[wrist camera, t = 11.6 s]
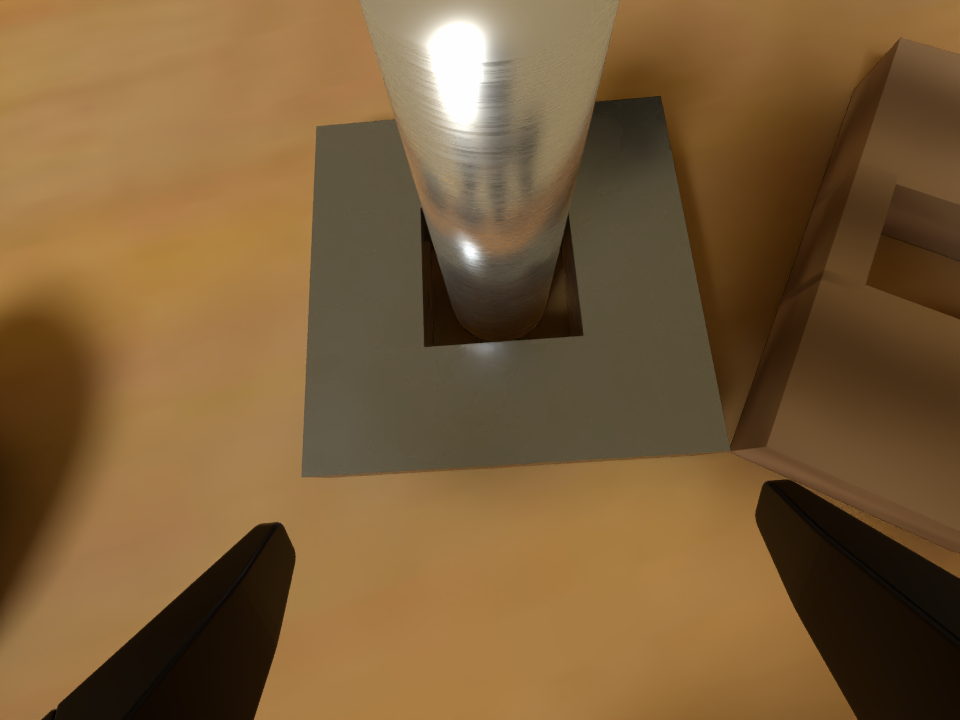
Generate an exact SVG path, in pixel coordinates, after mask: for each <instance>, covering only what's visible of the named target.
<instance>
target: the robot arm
mask: <svg viewBox="0 0 960 720" xmlns="http://www.w3.org/2000/svg"><path fill="white" fill-rule="evenodd" d="M755 518H756V523H757V526H758V528H759V530H760V533H761V535H762V537H763V539H764V542H765V544H766V546H767V548H768V551H769V553H770V555H771V557H772V560H773V562H774V564H775V566H776V568H777V571H778V573H779V575H780V577H781V580H782V582H783V584H784V586H785V589H786V591H787V593H788V595H789V597H790V599H791V602H792V604H793V606H794V608H795V610H796V612H797V613H798V615H799V617H800V619H801V621H802V623H803V624H804V626H805V628H806V630H807V631H808V633H809V635H810V637H811V639H812V640H813V642H814V644H815V646H816V647H817V649H818V651H819V653H820V654H821V656H822V658H823V660H824V661H825V663H826V665H827V667H828V668H829V670H830V672H831V674H832V675H833V677H834V679H835V681H836V682H837V684H838V686H839V688H840V689H841V691H842V693H843V695H844V696H845V698H846V700H847V702H848V703H849V705H850V707H851V709H852V710H853V712H854V714H855V716H856V717H857V719H858V720H960V579H959V578H958V577H956V576H954V575H953V574H951V573H949V572H947V571H946V570H944V569H942V568H941V567H939V566H937V565H935V564H934V563H932V562H930V561H929V560H927V559H925V558H924V557H922V556H920V555H918V554H917V553H915V552H913V551H912V550H910V549H908V548H906V547H905V546H903V545H901V544H900V543H898V542H896V541H894V540H893V539H891V538H889V537H888V536H886V535H884V534H882V533H881V532H879V531H877V530H876V529H874V528H872V527H871V526H869V525H867V524H865V523H864V522H862V521H860V520H859V519H857V518H855V517H853V516H852V515H850V514H848V513H847V512H845V511H843V510H841V509H840V508H838V507H836V506H835V505H833V504H831V503H829V502H828V501H826V500H824V499H823V498H821V497H819V496H818V495H816V494H814V493H812V492H811V491H809V490H807V489H806V488H804V487H802V486H800V485H799V484H797V483H795V482H793V481H791V480H773V481H767V482H765V483H764V484H763V486H762V489H761V493H760V496H759V500H758V504H757V508H756V513H755ZM295 558H296V556H295V550H294V547H293V545H292V543H291V541H290V539H289V537H288V534H287V532H286V530H285V528H284V526H283V525H282V524H281V523H278V522H274V523H262V524H259V525H257V526H256V527H254V528H253V529H252V530H251V531H250V532H249V533H248V534H246V535H245V536H244V537H243V538H242V539H241V540H240V541H239V542H238V543H237V544H235V545H234V546H233V547H232V548H231V549H230V550H229V551H228V552H227V553H225V554H224V555H223V556H222V557H221V558H220V559H219V560H218V561H217V562H215V563H214V564H213V565H212V566H211V567H210V568H209V569H208V570H207V571H206V572H204V573H203V574H202V575H201V576H200V577H199V578H198V579H197V580H196V581H194V582H193V583H192V584H191V585H190V586H189V587H188V588H187V589H186V590H185V591H183V592H182V593H181V594H180V595H179V596H178V597H177V598H176V599H175V600H173V601H172V602H171V603H170V604H169V605H168V606H167V607H166V608H165V609H163V610H162V611H161V612H160V613H159V614H158V615H157V616H156V617H155V618H154V619H152V620H151V621H150V622H149V623H148V624H147V625H146V626H145V627H144V628H142V629H141V630H140V631H139V632H138V633H137V634H136V635H135V636H134V637H133V638H131V639H130V640H129V641H128V642H127V643H126V644H125V645H124V646H123V647H121V648H120V649H119V650H118V651H117V652H116V653H115V654H114V655H113V656H111V657H110V658H109V659H108V660H107V661H106V662H105V663H104V664H103V665H102V666H100V667H99V668H98V669H97V670H96V671H95V672H94V673H93V674H92V675H90V676H89V677H88V678H87V679H86V680H85V681H84V682H83V683H82V684H81V685H79V686H78V687H77V688H76V689H75V690H74V691H73V692H72V693H71V694H69V695H68V696H67V697H66V698H65V699H64V700H63V701H62V702H61V703H60V704H59V705H58V707H57V709H54V710H52V711H50V712H49V713H48V714H47V715H46V716H45V717H44V718H43V719H42V720H254V717H255V714H256V711H257V708H258V705H259V702H260V699H261V695H262V692H263V689H264V686H265V683H266V680H267V677H268V673H269V670H270V667H271V664H272V661H273V658H274V654H275V651H276V647H277V644H278V639H279V635H280V631H281V627H282V622H283V617H284V613H285V608H286V603H287V598H288V594H289V589H290V584H291V580H292V575H293V570H294V566H295Z"/></svg>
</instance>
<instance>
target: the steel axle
mask: <svg viewBox="0 0 960 720" xmlns="http://www.w3.org/2000/svg"><path fill="white" fill-rule="evenodd" d="M359 1H360V4H361V7H362V11H363V14H364V17H365V21H366V24H367V27H368V30H369V34H370V37H371V40H372V44H373V47H374V50H375V54H376V57H377V60H378V64H379V67H380V70H381V73H382V77H383V80H384V83H385V87H386V90H387V93H388V97H389V100H390V103H391V107H392V110H393V113H394V116H395V120H396V123H397V126H398V130H399V133H400V136H401V140H402V143H403V146H404V150H405V153H406V156H407V159H408V163H409V166H410V169H411V173H412V176H413V179H414V183H415V186H416V189H417V193H418V196H419V199H420V202H421V206H422V209H423V212H424V216H425V219H426V222H427V226H428V229H429V232H430V236H431V239H432V242H433V245H434V249H435V252H436V255H437V259H438V262H439V265H440V269H441V272H442V275H443V279H444V282H445V285H446V288H447V292H448V295H449V298H450V302H451V305H452V308H453V311H454V314H455V317H456V318H457V320H458V322H459V323H460V324H461V326H462V327H463V328H464V329H465V330H466V331H467V332H469V333H470V334H471V335H473V336H475V337H477V338H479V339H482V340H485V341H489V342H504V341H513V340H516V339H518V338H521V337H522V336H524V335H526V334H527V333H529V332H530V331H531V330H532V329H533V328H534V327H535V326H536V325H537V324H538V323H539V321H540V320H541V318H542V316H543V314H544V311H545V308H546V304H547V300H548V296H549V291H550V287H551V283H552V279H553V275H554V271H555V267H556V262H557V258H558V254H559V250H560V246H561V242H562V237H563V233H564V229H565V225H566V221H567V217H568V212H569V208H570V204H571V200H572V196H573V192H574V187H575V183H576V179H577V175H578V171H579V167H580V162H581V158H582V154H583V150H584V146H585V142H586V137H587V133H588V129H589V125H590V121H591V117H592V113H593V108H594V104H595V100H596V96H597V92H598V88H599V83H600V79H601V75H602V71H603V67H604V63H605V58H606V54H607V50H608V46H609V42H610V38H611V33H612V29H613V25H614V21H615V17H616V13H617V8H618V4H619V0H359Z"/></svg>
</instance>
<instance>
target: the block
mask: <svg viewBox="0 0 960 720" xmlns="http://www.w3.org/2000/svg"><path fill="white" fill-rule="evenodd" d="M431 241H432V239H431V236H430V232H429V229H428V226H427V222H426V219H425V216H424V212H423V209H422V206H421V202H420V199H419V196H418V193H417V189H416V186H415V183H414V179H413V176H412V173H411V169H410V166H409V163H408V159H407V156H406V153H405V150H404V146H403V143H402V140H401V136H400V133H399V130H398V126H397V123H396V120H383V121H372V122H361V123H349V124H338V125H327V126H317V130H316V153H315V177H314V200H313V223H312V247H311V270H310V293H309V316H308V340H307V363H306V386H305V409H304V433H303V456H302V477H323V478H331V477H348V476H364V475H381V474H397V473H414V472H430V471H447V470H463V469H480V468H496V467H513V466H529V465H546V464H562V463H579V462H595V461H612V460H628V459H645V458H661V457H677V456H694V455H704V454H712V453H719V452H727V451H731V450H730V445H729V440H728V435H727V430H726V425H725V420H724V415H723V410H722V405H721V400H720V395H719V390H718V385H717V379H716V374H715V369H714V364H713V359H712V354H711V349H710V344H709V339H708V334H707V329H706V324H705V319H704V314H703V308H702V303H701V298H700V293H699V288H698V283H697V278H696V273H695V268H694V263H693V258H692V253H691V248H690V243H689V238H688V232H687V227H686V222H685V217H684V212H683V207H682V202H681V197H680V192H679V187H678V182H677V177H676V172H675V167H674V161H673V156H672V151H671V146H670V141H669V136H668V131H667V126H666V121H665V116H664V111H663V106H662V101H661V96H655V97H644V98H633V99H621V100H610V101H599V102H595V104H594V108H593V113H592V117H591V121H590V125H589V129H588V133H587V137H586V142H585V146H584V150H583V154H582V158H581V162H580V167H579V171H578V175H577V179H576V183H575V187H574V192H573V196H572V200H571V204H570V208H569V212H568V217H567V221H566V225H565V229H564V233H563V237H562V242H561V253H562V262H563V270H564V279H565V288H566V296H567V305H568V314H569V322H570V331H571V337H561V338H547V339H533V340H518V341H504V342H490V343H476V344H462V345H447V346H434V331H433V301H432V270H431Z"/></svg>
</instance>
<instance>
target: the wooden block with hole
mask: <svg viewBox="0 0 960 720" xmlns="http://www.w3.org/2000/svg"><path fill="white" fill-rule="evenodd" d="M881 234H884V235H887V236H890V237H893V238H896V239H899V240H901V241H904V242H907V243H910V244H913V245H916V246H919V247H921V248H924V249H927V250H930V251H933V252H936V253H939V254H941V255H944V256H947V257H950V258H953V259H956V260H958V261H960V54H956V53H953V52H949V51H946V50H942V49H939V48H935V47H932V46H928V45H925V44H921V43H918V42H914V41H911V40H907V39H903V38H900V39H899V40H898V41H897V42H896V43H895V45H894V46H893V47H892V48H891V49H890V50H889V51H888V52H887V53H886V55H885V56H884V57H883V58H882V59H881V60H880V61H879V62H878V63H877V65H876V66H875V67H874V68H873V69H872V70H871V71H870V72H869V74H868V75H867V76H866V77H865V78H864V79H863V80H862V81H861V82H860V84H859V85H858V86H857V87H856V88H855V89H854V92H853V95H852V98H851V101H850V104H849V106H848V109H847V112H846V115H845V118H844V121H843V124H842V127H841V130H840V132H839V135H838V138H837V141H836V144H835V147H834V150H833V153H832V156H831V158H830V161H829V164H828V167H827V170H826V173H825V176H824V179H823V182H822V184H821V187H820V190H819V193H818V196H817V199H816V202H815V205H814V208H813V210H812V213H811V216H810V219H809V222H808V225H807V228H806V231H805V234H804V236H803V239H802V242H801V245H800V248H799V251H798V254H797V257H796V259H795V262H794V265H793V268H792V271H791V274H790V277H789V280H788V283H787V285H786V288H785V291H784V294H783V297H782V300H781V303H780V306H779V309H778V311H777V314H776V317H775V320H774V323H773V326H772V329H771V332H770V335H769V337H768V340H767V343H766V346H765V349H764V352H763V355H762V358H761V361H760V363H759V366H758V369H757V372H756V375H755V378H754V381H753V384H752V387H751V389H750V392H749V395H748V398H747V401H746V404H745V407H744V410H743V413H742V415H741V418H740V421H739V424H738V427H737V430H736V433H735V436H734V439H733V441H732V444H731V447H730V450H731V451H729V452H731V453H733V454H736V455H738V456H740V457H742V458H745V459H747V460H749V461H751V462H754V463H756V464H758V465H760V466H763V467H765V468H767V469H769V470H772V471H774V472H776V473H778V474H781V475H783V476H785V477H787V478H790V479H792V480H794V481H796V482H799V483H801V484H803V485H805V486H808V487H810V488H812V489H814V490H817V491H819V492H821V493H823V494H826V495H828V496H830V497H832V498H835V499H837V500H839V501H841V502H844V503H846V504H848V505H850V506H853V507H855V508H857V509H859V510H862V511H864V512H866V513H868V514H871V515H873V516H875V517H877V518H879V519H882V520H884V521H886V522H888V523H891V524H893V525H895V526H897V527H900V528H902V529H904V530H906V531H909V532H911V533H913V534H915V535H918V536H920V537H922V538H924V539H927V540H929V541H931V542H933V543H936V544H938V545H940V546H942V547H945V548H947V549H949V550H951V551H954V552H956V553H960V319H957V318H955V317H952V316H949V315H946V314H944V313H941V312H938V311H936V310H933V309H930V308H927V307H925V306H922V305H919V304H917V303H914V302H911V301H908V300H906V299H903V298H900V297H898V296H895V295H892V294H890V293H887V292H884V291H881V290H879V289H876V288H873V287H871V286H868V285H866V282H867V278H868V275H869V272H870V269H871V265H872V262H873V259H874V255H875V252H876V249H877V245H878V242H879V239H880V236H881Z"/></svg>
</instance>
